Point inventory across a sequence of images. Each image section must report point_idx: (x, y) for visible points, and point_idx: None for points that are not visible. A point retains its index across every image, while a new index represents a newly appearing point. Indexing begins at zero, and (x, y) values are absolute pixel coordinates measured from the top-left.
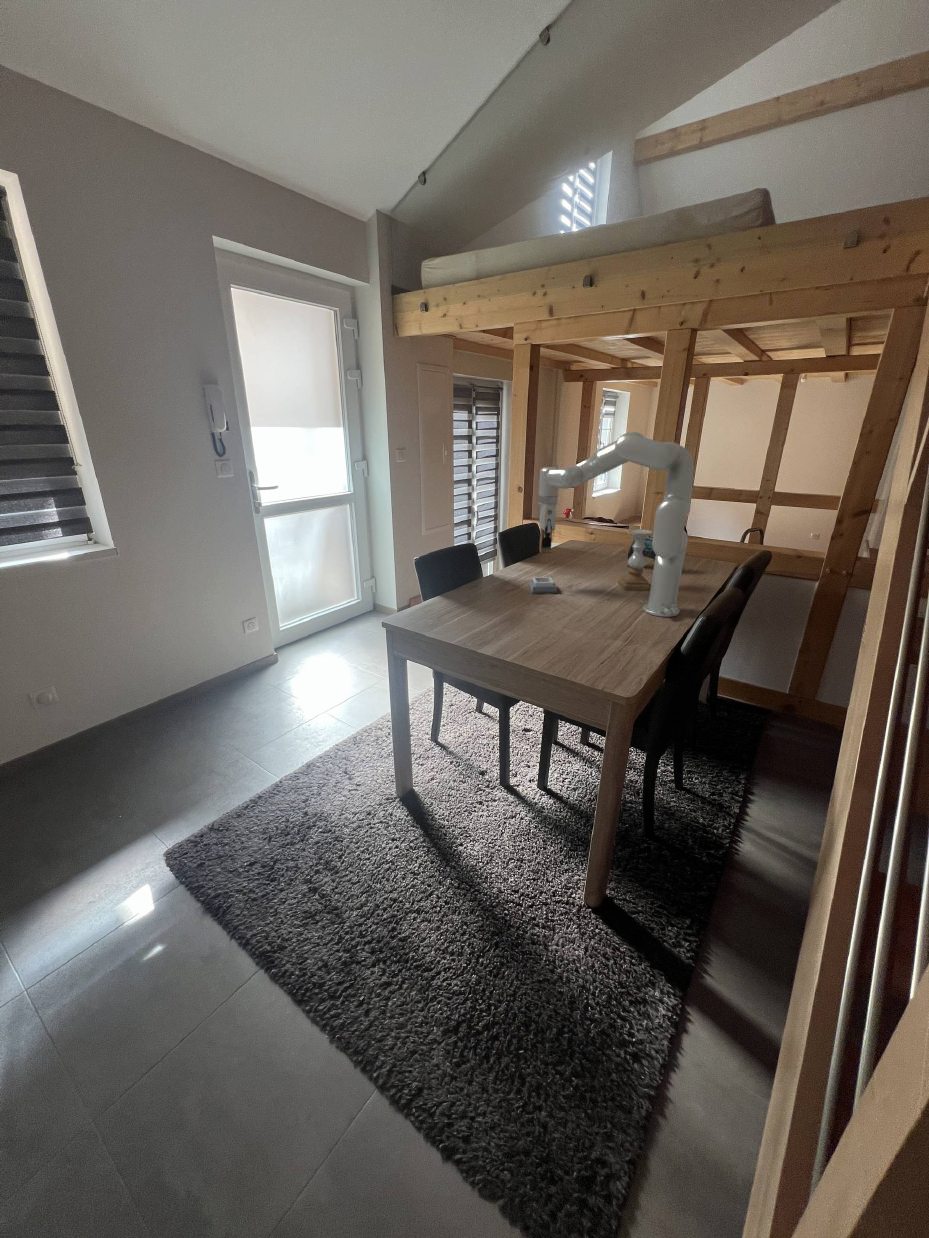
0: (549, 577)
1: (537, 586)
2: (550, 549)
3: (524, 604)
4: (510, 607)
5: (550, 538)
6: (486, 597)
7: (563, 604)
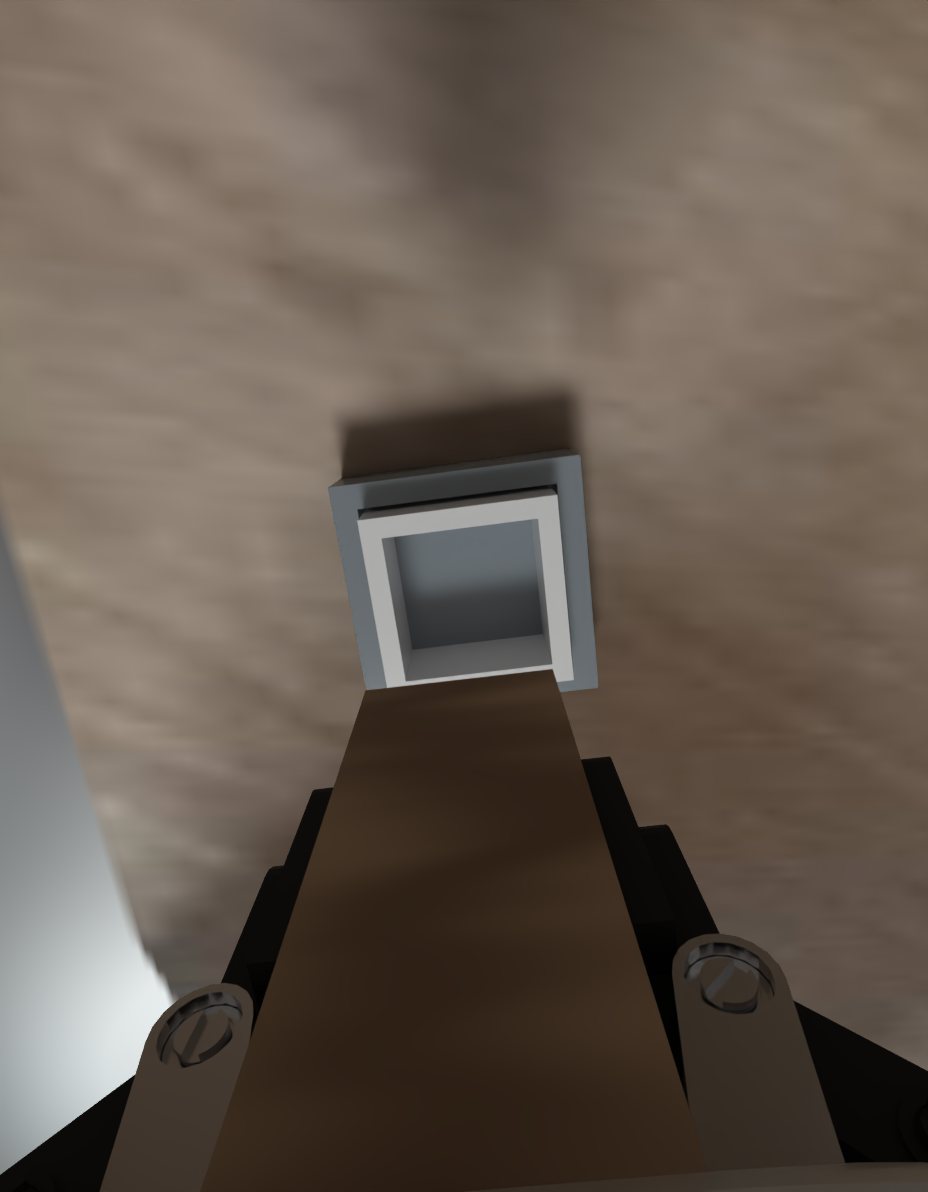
0: (375, 531)
1: (580, 645)
2: (564, 711)
3: (844, 722)
4: (903, 816)
5: (669, 906)
6: None
7: (866, 404)
